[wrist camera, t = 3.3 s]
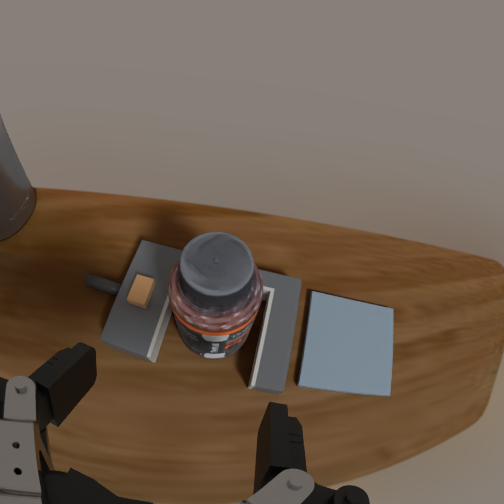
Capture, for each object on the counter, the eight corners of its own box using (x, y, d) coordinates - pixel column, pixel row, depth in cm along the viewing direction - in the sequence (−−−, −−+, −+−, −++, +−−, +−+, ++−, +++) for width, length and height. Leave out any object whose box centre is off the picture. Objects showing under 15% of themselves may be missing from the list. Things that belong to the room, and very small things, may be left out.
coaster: (296, 385, 23) (298, 385, 22) (310, 293, 28) (312, 290, 27) (386, 396, 23) (389, 395, 22) (390, 311, 27) (393, 308, 27)
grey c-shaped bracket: (72, 331, 22) (58, 319, 20) (112, 243, 28) (105, 225, 25) (277, 394, 22) (286, 390, 20) (295, 290, 28) (304, 275, 25)
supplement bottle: (232, 372, 23) (247, 335, 13) (167, 342, 23) (137, 284, 14) (258, 312, 26) (287, 240, 16) (198, 286, 27) (192, 203, 17)
